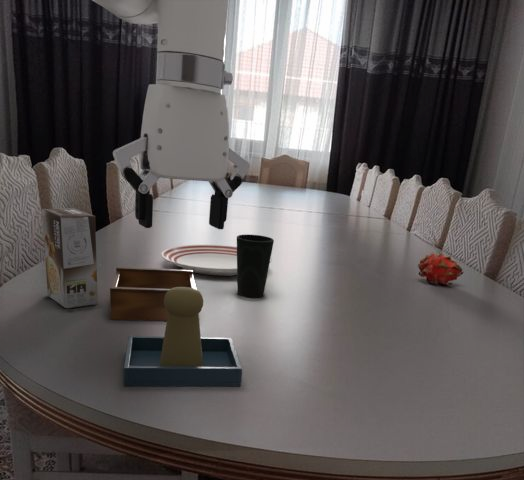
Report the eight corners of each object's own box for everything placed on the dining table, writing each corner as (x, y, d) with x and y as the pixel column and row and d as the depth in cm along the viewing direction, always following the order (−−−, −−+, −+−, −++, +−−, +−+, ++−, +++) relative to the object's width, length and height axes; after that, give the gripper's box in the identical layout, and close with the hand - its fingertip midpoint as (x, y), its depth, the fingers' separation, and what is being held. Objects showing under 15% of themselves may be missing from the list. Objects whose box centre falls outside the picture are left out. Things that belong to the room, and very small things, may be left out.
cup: (229, 296, 108) (233, 238, 103) (236, 287, 115) (240, 233, 110) (265, 301, 107) (271, 243, 102) (270, 292, 114) (275, 237, 109)
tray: (123, 386, 66) (123, 367, 66) (128, 352, 77) (128, 335, 76) (240, 386, 70) (242, 368, 69) (230, 353, 80) (231, 337, 79)
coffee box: (99, 304, 95) (97, 215, 89) (65, 309, 91) (60, 216, 85) (78, 291, 101) (75, 207, 95) (45, 295, 97) (39, 207, 91)
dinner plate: (152, 276, 117) (152, 261, 116) (168, 251, 142) (169, 239, 141) (273, 285, 119) (274, 271, 117) (268, 259, 144) (269, 247, 143)
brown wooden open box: (110, 319, 89) (109, 288, 86) (116, 294, 102) (116, 266, 100) (196, 322, 91) (197, 291, 89) (191, 297, 105) (192, 270, 103)
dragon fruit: (409, 284, 139) (453, 296, 138) (420, 272, 130) (466, 285, 130) (415, 256, 141) (458, 268, 140) (426, 242, 132) (472, 255, 132)
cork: (154, 358, 74) (155, 283, 70) (194, 354, 77) (197, 281, 73) (167, 375, 69) (169, 296, 65) (209, 370, 72) (214, 294, 68)
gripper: (240, 88, 67) (229, 222, 73) (105, 65, 58) (105, 219, 65) (270, 87, 61) (254, 233, 67) (124, 61, 52) (123, 231, 59)
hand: (181, 226), depth 66 cm, fingers open, 9 cm apart
